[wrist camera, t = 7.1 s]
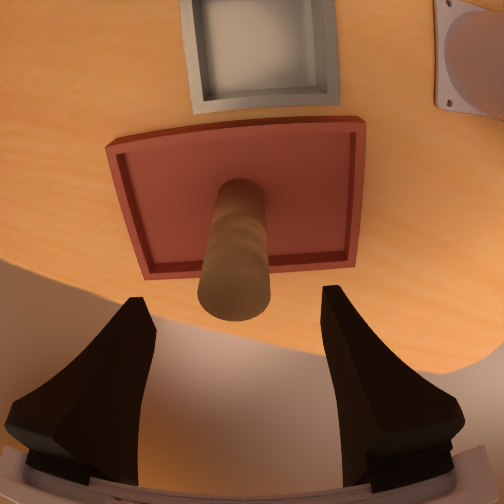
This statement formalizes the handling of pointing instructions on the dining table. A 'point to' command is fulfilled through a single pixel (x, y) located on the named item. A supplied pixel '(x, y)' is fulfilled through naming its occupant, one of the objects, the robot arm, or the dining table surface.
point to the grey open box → (260, 53)
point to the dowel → (236, 254)
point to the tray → (250, 167)
